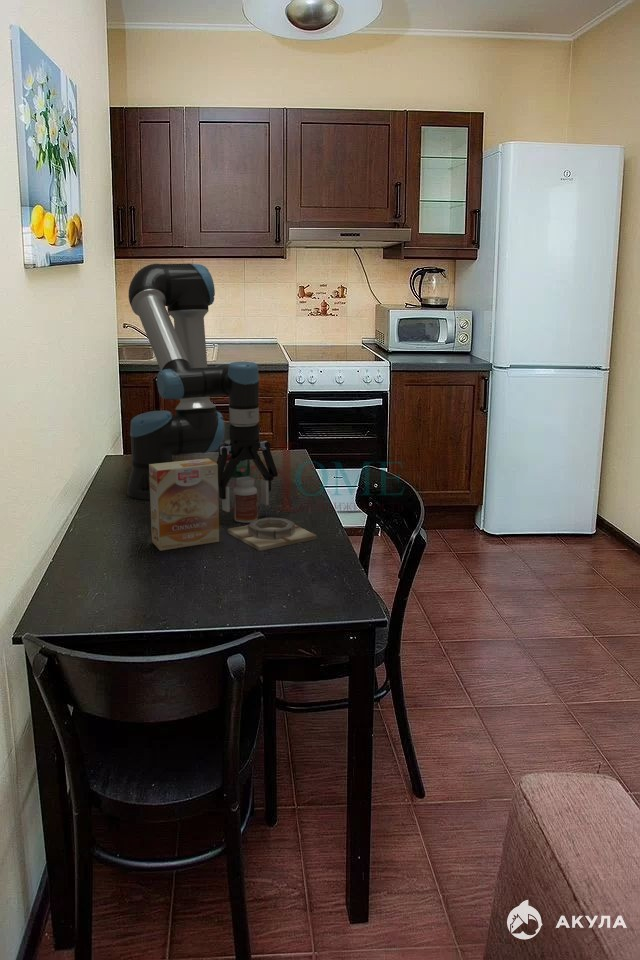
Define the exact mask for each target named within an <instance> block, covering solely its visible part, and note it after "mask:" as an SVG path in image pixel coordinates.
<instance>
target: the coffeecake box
mask: <svg viewBox="0 0 640 960" xmlns="http://www.w3.org/2000/svg"><path fill="white" fill-rule="evenodd" d="M149 479H150V500H149V501H150V505H149V506H150V520H151V521H150V523H151V525H150V526H151V527H150V528H151V529H150V530H151V543H152V544H153V545H154V546H155V547H156V548H157V549H158V550H159V551H168V550H173V549H179V548H186V547H193V546H198V545H205V544H212V543H219V542H220V518H219V515H220V514H219V513H220V512H219V486H218V464H217V462H216V461H213V460H211V459H210V458H198V459H187V460H180V461H179V460H178V461H177V460H176V461H173V462H167V463H157V464H149Z"/></svg>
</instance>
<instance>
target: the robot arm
mask: <svg viewBox="0 0 640 960" xmlns="http://www.w3.org/2000/svg"><path fill="white" fill-rule="evenodd" d="M215 294H216V288H215V283H214V280H213V277H212V275H211V273H210V271H209V269H208V268H207V267H206V266H205V265H202V264H200V263H199V264H197V263H190V262H189V263H151V264H147V265H146V266H144V267H142V268H140V269H139V270H138V271H137V272H136V273H135V275H133V278H132V279H131V281H130V284H129V287H128V301H129V305H130V307H131V310H132V311H133V313H134V314H135V315H136V316H138V317H139V320H140V322H141V325H142V327H143V329H144V331H145V335H146V337H147V339H148V342H149V344H150V347H151V349H152V352H153V354H154V357H155V359H156V362H157V365H158V366H159V369H160V370H159V371H158V373H157V376H156V387H157V391H158V392H157V393H158V394H159V396H160V397H161V398H162V399H164V400H180V401H179V404H177V405H176V407H175V415H174V414H172V412H171V411H169V410H165V409H164V410H161V409H160V410H151V411H146V412H143V413H140V414H137V415H136V416H134V417H132V419H131V420H130V428H129V429H130V430H129V431H130V432H129V436H130V450H131V462H132V463H131V465H132V466H131V467H132V468H131V472H130V474H129V475H130V476H129V479H128V483H127V487H126V488H127V489H126V490H127V496H128V497H130V498H133V499H136V500H147V501H150V479H149V464H157V463H167V462H174V456H183V455H194V454H205V453H209V452H215V451H216V450H218V456H217V460H216V463H217V464H218V498H219V499H221V507H222V511H224V512H226V513H229V512H231V507H230V506H231V502H230V486H228V483H229V481H230V479H231V476H232V474H233V472H234V470H235V468H236V466H237V465H238V464H239V463H240V461H244V460H250V461H252V462H253V464H254V465H255V466H256V467H257V469H258V472H259V473H260V475H262V477H263V478H260V503H261V504H262V505H265V506H269V503H270V500H269V497H270V496H269V493H270V492H271V490H272V482H273V480H274V478H276V477H278V470H277V468H276V464H275V462H274V458H273V455H272V451H271V443H270V442H269V441H267V440H262V441H260V440H259V439H260V425H259V424H258V423H259V422H260V406H259V405H260V404H259V403H260V399H259V398H260V393H259V392H260V389H259V388H260V387H259V386H260V375H259V366H258V364H257V363H256V362H252V361H251V362H250V361H234V362H231V363H229V364H218V365H217V364H216V365H215V366H209V367H208V360H207V359H208V358H207V357H208V356H207V342H206V330H205V316H206V315H207V314H208V313H209V312H210V311H209V310H210V309H209V306H211V305H212V304H214V302H215V296H216V295H215ZM170 316H171V317H170ZM171 318H172V319H173V321H172V319H171ZM220 396H221V397H222V396H223V397H225V396H227V397H228V413H229V415H228V417H229V418H228V421H229V423H230V425H229V440H230V445H229V446H226V447H225V446H222V443H223V442H224V436H225V420H224V416H223V414H222V413H221V412H220V411H217V409H216V407H217V406H216V405H215V403H213V402H212V401H211V399H210V397H220ZM259 449H260V450H261V452H262V455H263V458H264V462H265V464H264V462H263V461H262V458H261V456H260V455H259V454H258V451H259ZM229 451H231V453H232V454H231V456H230V458H229V462H228V464H227V466H226V468H225V464H226V461H227V455H228V454H229ZM235 458H236V459H235Z"/></svg>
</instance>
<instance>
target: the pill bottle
mask: <svg viewBox="0 0 640 960" xmlns="http://www.w3.org/2000/svg"><path fill="white" fill-rule="evenodd" d="M235 485H236V486H235V487H234V488H233V492H232V493H233V494H232V495H233V519H234V520H235V522H238V523H241V524H242V523H243V524H250V523H251V522H252V521H254V520H257V519H259V515H258V514H259V513H258V512H259V511H258V509H259V508H258V489H257V487H256V486H254V485H255V478H254V477H251V476H250V477H240V478H237V479H235Z"/></svg>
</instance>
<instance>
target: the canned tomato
mask: <svg viewBox="0 0 640 960" xmlns="http://www.w3.org/2000/svg"><path fill="white" fill-rule="evenodd" d="M223 443H224V444H223V445H224V447H226V446H229V445H230V439H226V440H223ZM231 454H232V453H231V451H229V454H228V455H227V461H226V464H225V468H226V466H227V464H228V462H229V458H230V456H231ZM235 459H236V458H235ZM225 468H224V469H225ZM240 477H251V460H244V461H240V463H239V464H238V465H237V466H236V468H235V470H234V472H233V474H232V476H231V478H230V479H231V480H236V479H237V478H240Z"/></svg>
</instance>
